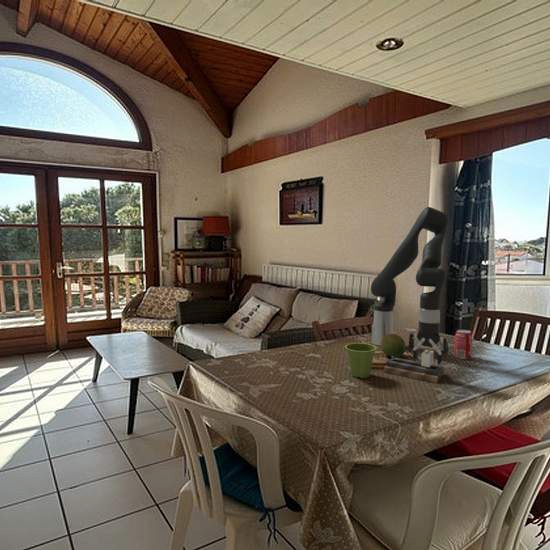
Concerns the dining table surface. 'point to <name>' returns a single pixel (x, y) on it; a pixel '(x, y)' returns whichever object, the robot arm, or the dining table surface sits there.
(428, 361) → the fader knob
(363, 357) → the plant pot
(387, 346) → the fruit
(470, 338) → the soda can
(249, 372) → the dining table surface
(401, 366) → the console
